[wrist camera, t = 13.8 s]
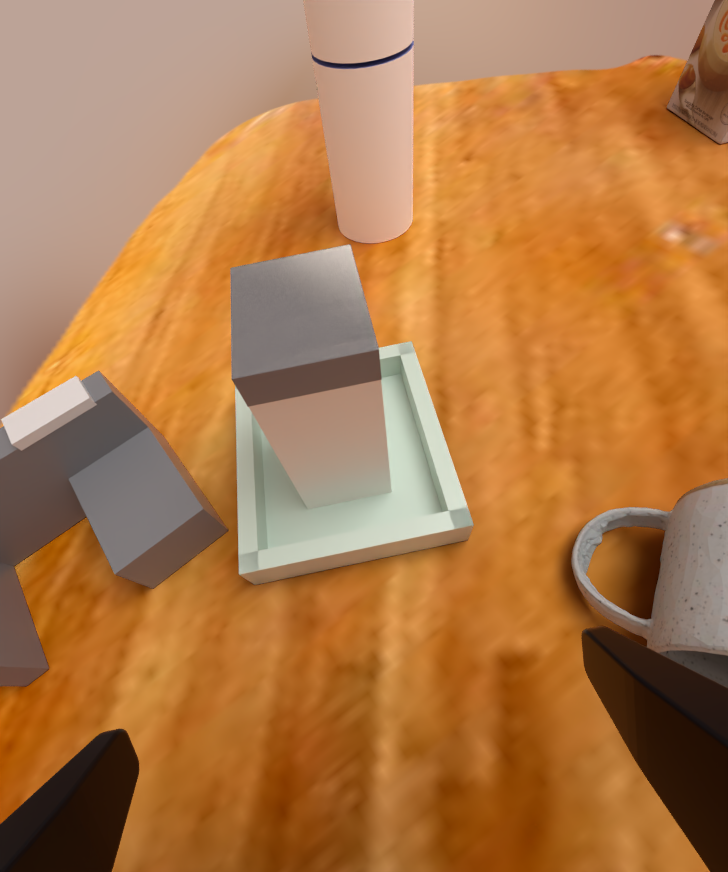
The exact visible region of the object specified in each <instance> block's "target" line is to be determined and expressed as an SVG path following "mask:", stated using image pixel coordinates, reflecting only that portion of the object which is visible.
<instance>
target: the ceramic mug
mask: <svg viewBox="0 0 728 872" xmlns="http://www.w3.org/2000/svg"><path fill="white" fill-rule="evenodd" d="M632 526H638V527H650V528H656V529H662V530H665V537H664V540H663V547H662V553H661V557H660V562H661V567H660V573H659V578H658V582H657V586H656V590H655V595H654V602H653V609H652V614H651V619H647V620H646V619H641V618H638V617H636V616H633V615H631V614H629V613H628V612H627V611H625V610H623V609H621V608H619V607H618V606H616V605H615V604H613V603H612V602H610V601H608V600H607V599H605V598H604V597H603V596H602V595H601V594H600V593H599V592H598V591H597V590H596V588H595V587H594V586H593V585H592V583H591V582H590V579H589V578H588V577H587V576H586V572H587V570H588V567H589V563H590V559H591V557H592V554H593V552H594V550H595V548H596V547H597V546H598V545H599V544H601V542H602V534H603V533H604V532H606V531H609V530H612V529H615V528H618V527H632ZM571 564H572V569H573V573H574V576H575V579H576V582H577V585H578V588H579V590H580V591H581V592H582V594H583V595H584V597H585V598H586V599H587V601H588V602H589V603H590V604H591V605H592V606H593V607H594V608H595V609H596V610H597V611H598V612H599V613H601V614H602V615H603V616H604V617H606V618H607V619H609V620H611V621H612V622H614V623H615V624H617V625H619V626H621V627H622V628H624V629H626V630H628V631H630V632H632V633H634V634H636V635H639V636H642V637H643V638H645V639H646V640H647V647H648V648H650V649H652V650H654V651H656V652H658V653H660V654H662V655H664V656H666V657H668V658H670V659H672V660H674V661H676V662H678V663H680V664H681V665H683V666H685V667H687V668H689V669H691V670H693V671H695V672H697V673H699V674H701V675H703V676H705V677H707V678H709V679H711V680H713V681H715V682H717V683H719V684H721V685H723V686H725V687H727V688H728V478H727V479H721V480H716V481H712V482H709V483H706V484H704V485H701V486H699V487H696V488H694V489H692V490H690V491H688V492H687V493H685V494H684V495H683V496H682V497H681V498H680V499H679V500H678V501H677V503H676V505H675V506H674V508H673V510H671V511H670V512H665V511H661V510H658V509H650V508H638V507H628V508H620V509H613V510H609V511H607V512H605V513H602V514H600V515H598V516H597V517H595V518H594V519H592V520H591V521H589V522H588V523H587V524H586V525H585V526H584V528H583V529H582V530H581V531H580V533H579V535H578V537H577V539H576V541H575V544H574V547H573V550H572V559H571Z"/></svg>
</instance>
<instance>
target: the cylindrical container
mask: <svg viewBox="0 0 728 872" xmlns="http://www.w3.org/2000/svg"><path fill="white" fill-rule="evenodd" d="M303 2H304V8H305V15H306V21H307V28H308V34H309V40H310V47H311V54H312V60H313V66H314V73H315V79H316V84H317V92H318V99H319V105H320V111H321V118H322V124H323V131H324V137H325V143H326V150H327V156H328V162H329V169H330V175H331V182H332V188H333V194H334V201H335V207H336V214H337V220H338V226H339V230H340V232H341V233H342V234H343V235H344V236H345V237H347V238H348V239H351V240H353V241H356V242H361V243H380V242H385V241H389V240H392V239H394V238H397V237H399V236H400V235H402V234H403V233H404V232H406V231H407V230H408V229H409V227H410V226H411V224H412V221H413V47H414V46H413V45H414V44H413V39H414V38H413V37H414V33H413V32H414V29H413V28H414V0H303Z"/></svg>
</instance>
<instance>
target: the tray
mask: <svg viewBox="0 0 728 872" xmlns="http://www.w3.org/2000/svg"><path fill="white" fill-rule="evenodd" d="M379 355H380V366H381V377H382V380H381V383H382V394H383V405H384V415H385V426H386V436H387V447H388V457H389V468H390V478H391V489H392V492H390V493H385V494H380V495H376V496H371V497H366V498H361V499H356V500H351V501H346V502H342V503H337V504H332V505H327V506H322V507H317V508H313V509H307V507H306V505H305V504H304V502H303V500H302V498H301V497H300V495H299V493H298V491H297V490H296V488H295V486H294V485H293V483H292V481H291V479H290V478H289V476H288V474H287V472H286V471H285V469H284V467H283V466H282V464H281V462H280V460H279V459H278V457H277V455H276V453H275V452H274V450H273V448H272V446H271V445H270V443H269V441H268V440H267V438H266V436H265V434H264V433H263V431H262V429H261V427H260V426H259V424H258V422H257V420H256V419H255V417H254V415H253V414H252V412H251V410H250V408H249V407H248V406H247V405H246V403H245V401H244V399H243V398H242V396H241V394H240V393H239V391H238V389H237V387H236V386H235V400H236V452H237V503H238V555H239V575H240V576H242V577H243V578H245V579H246V580H248V581H249V582H251V583H253V584H254V585H258V584H263V583H267V582H272V581H277V580H281V579H286V578H291V577H296V576H300V575H305V574H310V573H315V572H319V571H324V570H329V569H334V568H338V567H343V566H348V565H352V564H357V563H362V562H367V561H371V560H376V559H381V558H386V557H390V556H395V555H400V554H405V553H409V552H414V551H419V550H423V549H428V548H433V547H438V546H442V545H447V544H452V543H457V542H461V541H466V540H468V538H469V536H470V533H471V531H472V528H473V526H474V524H473V521H472V518H471V515H470V512H469V509H468V507H467V504H466V501H465V498H464V495H463V492H462V489H461V486H460V483H459V480H458V477H457V474H456V471H455V468H454V465H453V462H452V459H451V456H450V453H449V450H448V447H447V444H446V441H445V439H444V436H443V433H442V430H441V427H440V424H439V421H438V418H437V415H436V412H435V409H434V406H433V403H432V400H431V397H430V394H429V391H428V388H427V385H426V382H425V379H424V376H423V374H422V371H421V368H420V365H419V362H418V359H417V356H416V353H415V350H414V347H413V344H412V341H410V342H406V343H401V344H396V345H391V346H386V347H381V348H379Z"/></svg>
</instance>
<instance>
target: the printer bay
mask: <svg viewBox="0 0 728 872" xmlns="http://www.w3.org/2000/svg"><path fill="white" fill-rule="evenodd" d="M1 420H2V422H3V425H4V426H3V427H2V428H0V686H27V685H29V684H30V683H31V682H33V681H34V680H35V679H37V678H38V677H39V676H40V675H42V674H43V673H44V672H46V671H47V670H48V669H49V667H48V664H47V661H46V658H45V655H44V652H43V649H42V646H41V644H40V641H39V638H38V635H37V632H36V629H35V626H34V623H33V620H32V618H31V615H30V612H29V609H28V606H27V603H26V600H25V597H24V594H23V592H22V589H21V586H20V583H19V580H18V577H17V574H16V571H15V568H14V566H15V565H17V564H18V563H20V562H21V561H22V560H24V559H25V558H27V557H28V556H30V555H31V554H33V553H34V552H36V551H37V550H39V549H40V548H41V547H43V546H44V545H46V544H47V543H49V542H50V541H52V540H53V539H55V538H56V537H58V536H59V535H60V534H62V533H63V532H65V531H66V530H68V529H69V528H71V527H72V526H74V525H75V524H77V523H78V522H79V521H81V520H82V519H84V518H85V517H87V518H88V520H89V522H90V524H91V526H92V528H93V531H94V533H95V535H96V537H97V539H98V541H99V543H100V545H101V547H102V549H103V551H104V553H105V555H106V557H107V559H108V561H109V564H110V566H111V568H112V570H113V572H114V574H115V575H118V576H120V577H123V578H126V579H128V580H131V581H134V582H136V583H139V584H142V585H144V586H147V587H149V588H152V589H153V588H155V587H156V586H157V585H158V584H160V583H161V582H162V581H164V580H165V579H166V578H168V577H169V576H170V575H171V574H173V573H174V572H175V571H177V570H178V569H179V568H180V567H182V566H183V565H184V564H186V563H187V562H188V561H190V560H191V559H192V558H193V557H195V556H196V555H197V554H199V553H200V552H201V551H203V550H204V549H205V548H206V547H208V546H209V545H210V544H212V543H213V542H214V541H215V540H217V539H218V538H219V537H221V536H222V535H223V534H225V533H226V532H227V531H228V529H227V527H226V526H225V525H224V523H223V522H222V520H221V519H220V517H219V516H218V514H217V513H216V512H215V510H214V509H213V507H212V506H211V504H210V503H209V501H208V500H207V498H206V497H205V496H204V494H203V493H202V491H201V490H200V488H199V487H198V485H197V484H196V483H195V481H194V480H193V478H192V477H191V475H190V474H189V472H188V471H187V469H186V468H185V467H184V465H183V464H182V462H181V461H180V459H179V458H178V456H177V455H176V453H175V452H174V451H173V449H172V448H171V446H170V445H169V443H168V442H167V440H166V439H165V438H164V436H163V435H162V434H161V433H160V432H159V431H158V430H157V429H156V428H155V427H154V426H153V425H152V424H151V423H150V422H149V421H148V420H147V419H146V418H145V417H144V416H143V415H142V414H141V413H140V412H139V411H138V410H137V409H136V408H135V407H134V406H133V405H132V404H131V403H130V402H129V401H128V400H127V399H126V398H125V397H124V396H123V395H122V394H121V393H120V392H119V391H118V390H117V389H116V388H115V387H114V386H113V384H112V383H111V382H110V381H109V380H108V379H107V378H106V377H105V376H104V375H103V374H102V373H101V372H100V371H97V372H96V373H94V374H92V375H90V376H89V377H87V378H85V379H84V380H82V381H81V380H80V379H79V378H78V377H77V376H75V377H73V378H72V379H70V380H68V381H66V382H65V383H63V384H61V385H60V386H58V387H56V388H54V389H53V390H51V391H49V392H47V393H46V394H44V395H42V396H41V397H39V398H37V399H35V400H34V401H32V402H30V403H28V404H27V405H25V406H23V407H22V408H20V409H18V410H16V411H15V412H13V413H11V414H10V415H8V416H6V417H4V418H3V419H1Z"/></svg>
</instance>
